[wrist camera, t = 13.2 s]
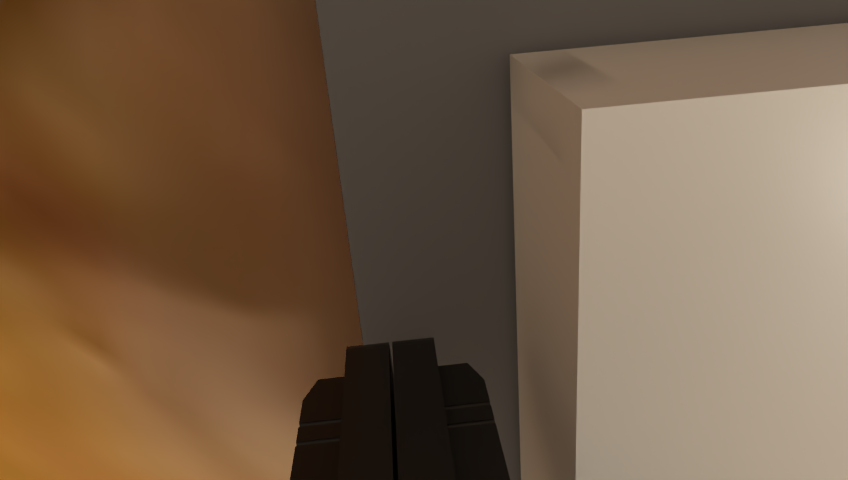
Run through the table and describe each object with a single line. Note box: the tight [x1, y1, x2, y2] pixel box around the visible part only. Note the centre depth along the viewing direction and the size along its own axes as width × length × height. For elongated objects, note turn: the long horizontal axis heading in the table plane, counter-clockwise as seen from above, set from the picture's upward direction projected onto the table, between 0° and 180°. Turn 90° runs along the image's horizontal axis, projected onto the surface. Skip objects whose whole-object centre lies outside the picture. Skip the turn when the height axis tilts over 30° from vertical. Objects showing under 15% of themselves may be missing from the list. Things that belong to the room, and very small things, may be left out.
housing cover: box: [510, 23, 848, 480], centre depth 11 cm, size 10×7×4 cm
